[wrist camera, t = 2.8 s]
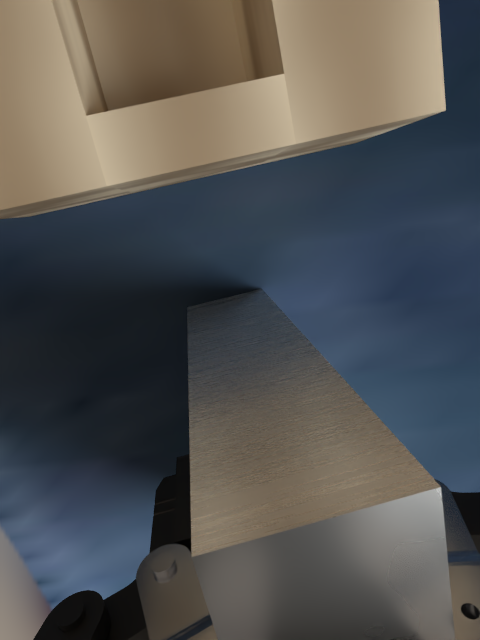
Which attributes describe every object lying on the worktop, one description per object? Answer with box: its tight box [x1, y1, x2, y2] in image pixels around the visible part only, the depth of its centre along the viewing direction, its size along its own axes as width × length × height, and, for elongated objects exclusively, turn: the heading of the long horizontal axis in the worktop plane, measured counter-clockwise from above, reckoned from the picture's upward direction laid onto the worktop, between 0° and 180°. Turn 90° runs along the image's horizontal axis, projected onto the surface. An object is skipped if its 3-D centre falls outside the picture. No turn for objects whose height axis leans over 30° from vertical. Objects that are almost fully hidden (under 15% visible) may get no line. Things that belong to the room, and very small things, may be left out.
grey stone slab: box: [187, 289, 455, 640], centre depth 12 cm, size 3×9×12 cm, turn 13°
